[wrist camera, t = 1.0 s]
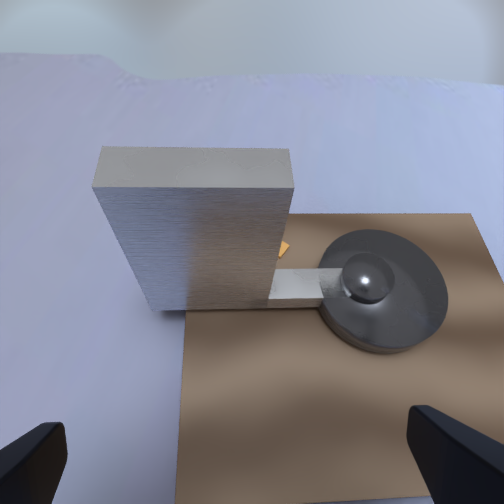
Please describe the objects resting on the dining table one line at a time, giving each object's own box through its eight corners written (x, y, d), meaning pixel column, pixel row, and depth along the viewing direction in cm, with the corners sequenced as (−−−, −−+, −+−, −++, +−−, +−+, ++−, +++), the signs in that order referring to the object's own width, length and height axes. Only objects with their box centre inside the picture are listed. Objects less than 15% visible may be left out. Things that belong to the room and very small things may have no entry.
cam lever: (414, 241, 25) (526, 105, 16) (452, 351, 21) (636, 257, 12) (160, 243, 24) (115, 96, 15) (147, 361, 20) (71, 263, 10)
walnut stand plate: (575, 484, 20) (599, 485, 18) (178, 508, 18) (174, 511, 17) (460, 224, 29) (470, 213, 28) (193, 225, 27) (191, 213, 26)
